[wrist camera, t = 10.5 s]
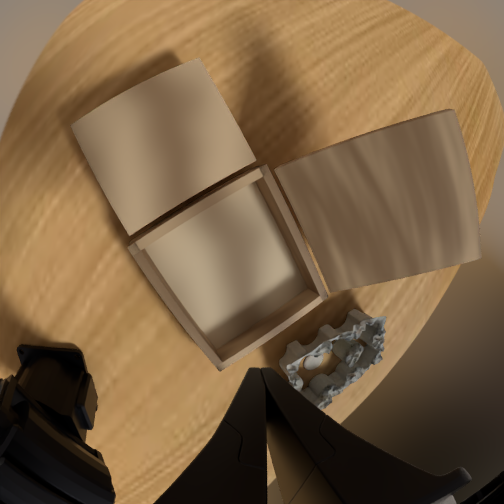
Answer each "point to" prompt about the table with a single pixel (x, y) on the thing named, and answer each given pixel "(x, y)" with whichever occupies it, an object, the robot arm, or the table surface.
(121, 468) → the table surface
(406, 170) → the flap
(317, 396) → the egg carton
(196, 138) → the carton
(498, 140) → the table surface
